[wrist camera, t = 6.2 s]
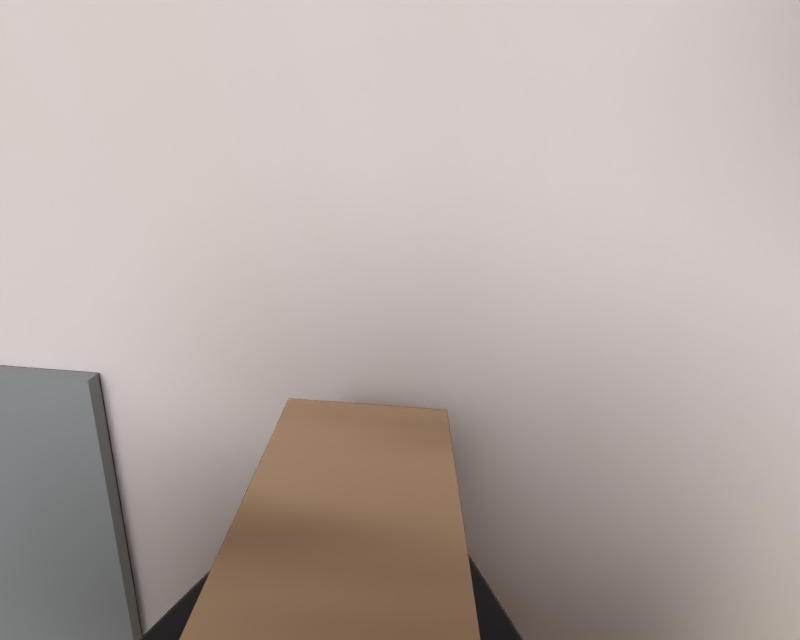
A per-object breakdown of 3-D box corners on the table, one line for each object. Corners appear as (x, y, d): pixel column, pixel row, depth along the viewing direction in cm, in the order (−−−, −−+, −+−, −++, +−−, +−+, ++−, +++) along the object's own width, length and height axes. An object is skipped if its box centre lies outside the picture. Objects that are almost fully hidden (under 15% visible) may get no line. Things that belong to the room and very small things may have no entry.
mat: (163, 768, 17) (158, 782, 17) (-15, 756, 17) (-24, 769, 17) (98, 372, 12) (87, 381, 11) (-169, 352, 12) (-188, 359, 11)
